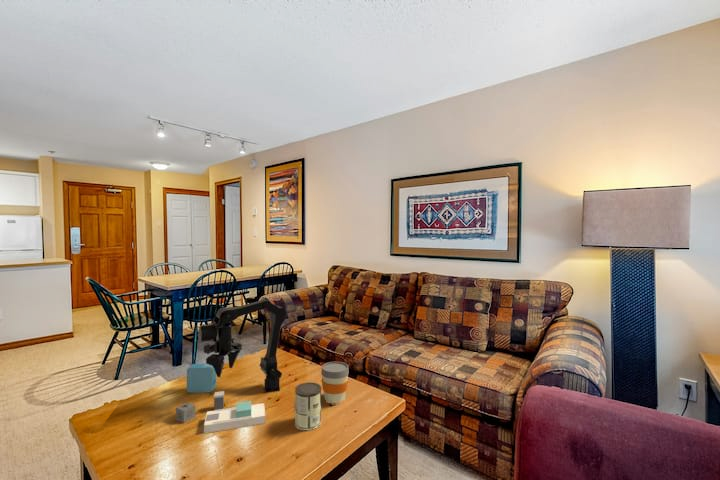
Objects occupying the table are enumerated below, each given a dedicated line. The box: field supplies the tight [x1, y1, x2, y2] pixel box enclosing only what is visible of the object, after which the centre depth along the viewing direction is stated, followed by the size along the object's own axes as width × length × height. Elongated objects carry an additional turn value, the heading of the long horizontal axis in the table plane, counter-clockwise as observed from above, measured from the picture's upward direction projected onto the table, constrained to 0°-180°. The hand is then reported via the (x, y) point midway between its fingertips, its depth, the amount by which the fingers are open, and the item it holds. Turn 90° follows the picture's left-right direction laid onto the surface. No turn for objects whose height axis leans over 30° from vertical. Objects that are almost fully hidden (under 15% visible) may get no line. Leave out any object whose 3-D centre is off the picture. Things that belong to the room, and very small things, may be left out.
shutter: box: [236, 400, 252, 418], centre depth 132 cm, size 6×7×2 cm
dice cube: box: [175, 401, 196, 424], centre depth 132 cm, size 5×5×5 cm
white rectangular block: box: [213, 390, 225, 411], centre depth 140 cm, size 4×4×6 cm
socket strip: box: [203, 403, 266, 434], centre depth 131 cm, size 22×10×3 cm, turn 109°
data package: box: [186, 363, 217, 394], centre depth 156 cm, size 12×4×12 cm, turn 93°
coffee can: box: [294, 382, 322, 431], centre depth 130 cm, size 10×10×14 cm
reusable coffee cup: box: [321, 361, 350, 403], centre depth 149 cm, size 13×12×15 cm
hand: (225, 372), depth 145 cm, fingers open, 9 cm apart
